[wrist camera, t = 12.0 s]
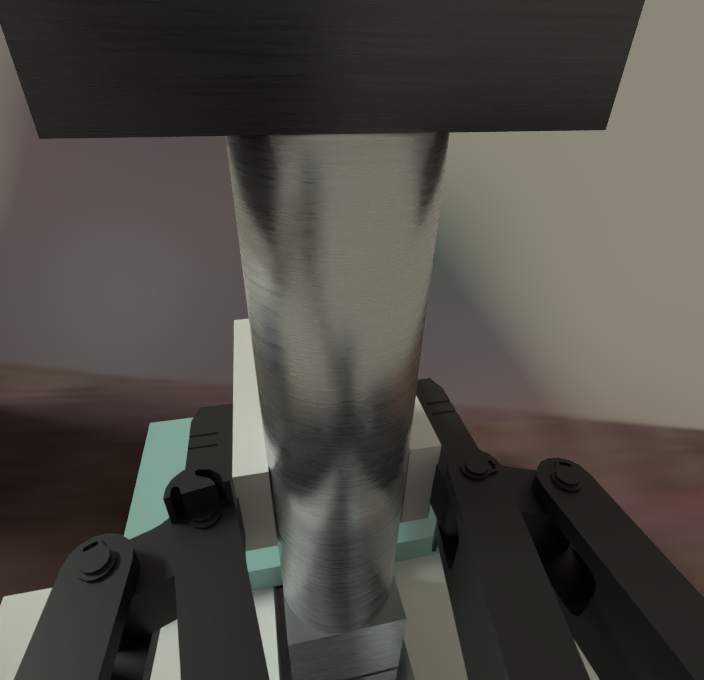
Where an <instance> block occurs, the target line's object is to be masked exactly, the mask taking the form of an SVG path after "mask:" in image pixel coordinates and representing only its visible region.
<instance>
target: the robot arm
mask: <svg viewBox="0 0 704 680" xmlns="http://www.w3.org/2000/svg"><path fill="white" fill-rule="evenodd" d="M163 500H164V503H165V506H166V509H167V512H168V515H169V518H168V519H167V520H166V521H164V522H163V523H162V524H160V525H159V526H157V527H155V528H153V529H151V530H149V531H147V532H145V533H143V534H140V535H138V536H136V537H134V538H132V539H128V538H126V537H124V536H123V535H121V534H114V533H106V534H102V535H98V536H94V537H92V538H91V539H89V540H87V541H85V542H83V543H82V544H80V545H79V546H78V547H77V548H76V549H75V550H74V551H72V552H71V553H70V554H69V555H68V557H67V558H66V560H65V562H64V563H63V565H62V566H61V568H60V571H59V573H58V575H57V578H56V580H55V583H54V585H53V587H52V590H51V592H50V594H49V597H48V599H47V602H46V604H45V606H44V609H43V611H42V613H41V616H40V618H39V621H38V623H37V625H36V628H35V630H34V632H33V635H32V637H31V640H30V642H29V644H28V647H27V649H26V651H25V654H24V656H23V659H22V661H21V663H20V666H19V668H18V671H17V673H16V675H15V678H14V680H150V678H151V673H152V668H153V663H154V659H155V654H156V649H157V644H158V639H159V634H160V629H161V628H162V627H164V626H166V625H167V624H169V623H171V622H173V621H175V620H177V624H178V641H179V657H180V674H181V680H270V679H269V674H268V669H267V664H266V659H265V654H264V649H263V644H262V639H261V634H260V629H259V623H258V618H257V613H256V608H255V603H254V598H253V593H252V588H251V583H250V578H249V573H248V568H247V563H246V550H247V551H250V550H256V549H261V548H267V547H272V546H277V545H278V541H277V532H276V524H275V516H274V508H273V500H272V492H271V485H270V477H269V469H268V463H267V457H266V449H265V441H264V433H263V426H262V418H261V410H260V402H259V394H258V386H257V378H256V371H255V363H254V355H253V347H252V339H251V331H250V323H249V319H242V320H234V378H233V404H226V405H218V406H210V407H202V408H200V409H199V410H198V412H197V413H196V415H195V416H194V418H193V419H192V421H191V426H190V434H189V442H188V451H187V458H186V466H185V470H183V471H181V472H180V473H179V474H177V475H176V476H175V477H174V478H172V479H171V481H170V482H169V484H168V485H167V487H166V488H165V492H164V497H163ZM430 505H431V506H432V509H433V511H434V514H435V516H436V518H437V520H436V525H435V530H434V535H433V540H432V552H433V551H436V550H437V545H438V548H439V553H440V557H441V562H442V566H443V570H444V575H445V579H446V584H447V588H448V593H449V597H450V602H451V606H452V611H453V615H454V620H455V624H456V629H457V633H458V638H459V642H460V647H461V651H462V656H463V660H464V664H465V669H466V673H467V678H468V680H590V677H589V675H588V673H587V670H586V668H585V665H584V663H583V661H582V658H581V656H580V653H579V651H578V649H577V646H576V644H575V642H576V643H577V645H578V647H579V648H580V650H581V651H582V653H583V654H584V656H585V658H586V659H587V661H588V662H589V664H590V665H591V667H592V669H593V670H594V672H595V673H596V675H597V676H598V678H599V680H704V598H703V597H702V596H701V595H700V593H699V592H698V591H697V590H696V589H695V588H694V587H693V586H692V585H691V584H690V583H689V581H688V580H687V579H686V578H685V577H684V576H683V575H682V574H681V573H680V572H679V571H678V569H677V568H676V567H675V566H674V565H673V564H672V563H671V562H670V561H669V560H668V559H667V558H666V556H665V555H664V554H663V553H662V552H661V551H660V550H659V549H658V548H657V547H656V546H655V544H654V543H653V542H652V541H651V540H650V539H649V538H648V537H647V536H646V535H645V534H644V532H643V531H642V530H641V529H640V528H639V527H638V526H637V525H636V524H635V523H634V522H633V520H632V519H631V518H630V517H629V516H628V515H627V514H626V513H625V512H624V511H623V510H622V509H621V507H620V506H619V505H618V504H617V503H616V502H615V501H614V500H613V499H612V498H611V497H610V495H609V494H608V493H607V492H606V491H605V490H604V489H603V488H602V487H601V486H600V485H599V483H598V482H597V481H596V480H595V479H594V478H593V477H592V476H591V475H590V474H589V473H588V472H587V471H586V470H585V469H583V468H582V467H581V466H580V465H578V464H576V463H574V462H572V461H570V460H566V459H561V458H548V459H546V460H544V461H542V462H541V463H540V464H539V466H538V468H537V470H536V471H535V470H527V469H518V468H511V467H506V466H503V465H500V464H499V462H498V461H497V460H496V459H495V458H494V457H492V456H491V455H490V454H488V453H486V452H483V451H481V450H479V448H478V447H477V445H476V444H475V442H474V440H473V439H472V437H471V435H470V434H469V432H468V430H467V429H466V427H465V425H464V423H463V422H462V420H461V418H460V417H459V415H458V413H457V412H456V411H455V408H454V407H453V405H452V403H450V400H449V398H448V396H447V395H446V393H445V392H444V390H443V388H442V387H440V386H439V385H438V384H437V383H435V382H434V381H433V380H431V379H430V378H429V379H421V380H418V383H417V391H416V399H415V407H414V415H413V423H412V430H411V438H410V446H409V454H408V462H407V470H406V477H405V485H404V493H403V501H402V509H401V517H400V522H401V523H402V522H408V521H413V520H419V519H424V518H428V516H429V511H430ZM574 640H575V641H574Z"/></svg>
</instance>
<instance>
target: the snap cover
mask: <svg viewBox="0 0 704 680" xmlns="http://www.w3.org/2000/svg"><path fill="white" fill-rule="evenodd" d="M193 418H194V417H193ZM193 418H185V419H177V420H170V421H162V422H154V423H150V425H149V429H148V434H147V438H146V442H145V447H144V451H143V455H142V460H141V464H140V468H139V473H138V477H137V481H136V486H135V490H134V494H133V498H132V503H131V507H130V511H129V516H128V520H127V524H126V529H125V533H124V537H126V538H128V539H132V538H134V537H136V536H138V535H140V534H143V533H145V532H147V531H149V530H151V529H153V528H155V527H157V526H159V525H160V524H162V523H163V522H164V521H166V520H167V519H168V518H169V515H168V512H167V509H166V506H165V503H164V500H163V497H164V492H165V488H166V487H167V485H168V484H169V482H170V481H171V479H172V478H174V477H175V476H176V475H177V474H179V473H180V472H181V471H183V470H185V466H186V458H187V451H188V442H189V434H190V426H191V421H192V419H193ZM436 520H437V518H436V516H435V514H434V511H433V509H432V506H431V505H430V511H429V516H428V518H424V519H419V520H413V521H408V522H402V523H401V522H400V524H399V532H398V540H397V548H396V556H395V562H399V561H404V560H409V559H414V558H419V557H424V556H429V555H434V554H439V548H438V545H437V550H436V551H433V552H432V540H433V535H434V530H435V525H436ZM246 563H247V568H248V573H249V578H250V583H251V588H252V591H254V590H259V589H264V588H269V587H274V586H279V585H283V583H282V575H281V567H280V559H279V551H278V545H277V546H272V547H267V548H261V549H256V550H250V551H247V550H246Z"/></svg>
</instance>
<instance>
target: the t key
mask: <svg viewBox="0 0 704 680" xmlns="http://www.w3.org/2000/svg"><path fill="white" fill-rule="evenodd" d="M644 2H645V0H0V24H1V27H2V30H3V33H4V36H5V39H6V42H7V45H8V48H9V51H10V54H11V57H12V59H13V62H14V65H15V68H16V71H17V74H18V77H19V80H20V83H21V86H22V89H23V92H24V94H25V98H26V101H27V104H28V106H29V109H30V112H31V115H32V118H33V121H34V124H35V127H36V130H37V133H38V136H39V139H51V138H112V137H113V138H116V137H175V136H176V137H179V136H180V137H181V136H226V143H227V150H228V158H229V165H230V174H231V182H232V189H233V198H234V205H235V213H236V221H237V229H238V237H239V245H240V252H241V261H242V268H243V276H244V284H245V292H246V300H247V308H248V316H249V323H250V331H251V339H252V347H253V355H254V363H255V371H256V378H257V386H258V394H259V402H260V410H261V418H262V426H263V433H264V441H265V449H266V457H267V463H268V469H269V477H270V485H271V492H272V500H273V508H274V516H275V524H276V532H277V541H278V551H279V559H280V567H281V575H282V583H283V594H284V606H285V618H286V630H287V642H288V651H289V658H290V666H291V673H292V680H396V676H397V670H398V668H397V666H398V665H399V659H400V653H401V648H402V642H403V636H404V631H405V625H406V619H407V618H406V615H405V612H404V608H403V605H402V601H401V598H400V595H399V591H398V588H397V584H396V581H395V577H394V574H393V571H394V564H395V556H396V548H397V540H398V532H399V524H400V517H401V509H402V501H403V493H404V485H405V477H406V470H407V462H408V454H409V446H410V438H411V430H412V423H413V415H414V407H415V399H416V391H417V383H418V375H419V368H420V360H421V352H422V343H423V336H424V328H425V321H426V313H427V304H428V297H429V289H430V281H431V273H432V265H433V258H434V250H435V242H436V234H437V226H438V219H439V211H440V203H441V195H442V187H443V179H444V172H445V164H446V156H447V148H448V140H449V133H450V132H500V131H501V132H506V131H570V130H606V126H607V123H608V120H609V117H610V113H611V110H612V107H613V104H614V100H615V97H616V94H617V90H618V87H619V83H620V80H621V77H622V74H623V71H624V67H625V64H626V61H627V57H628V54H629V51H630V48H631V44H632V41H633V38H634V34H635V31H636V28H637V25H638V21H639V18H640V15H641V11H642V8H643V5H644Z"/></svg>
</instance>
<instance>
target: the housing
mask: <svg viewBox="0 0 704 680" xmlns="http://www.w3.org/2000/svg"><path fill="white" fill-rule="evenodd" d="M393 574H394V577H395V581H396V584H397V588H398V591H399V595H400V598H401V601H402V605H403V608H404V612H405V615H406V618H407V619H406V625H405V631H404V636H403V642H402V648H401V653H400V659H399V665H398V666H397V668H398V670H397V676H396V680H468V678H467V673H466V669H465V664H464V660H463V656H462V651H461V647H460V642H459V638H458V633H457V629H456V624H455V620H454V615H453V611H452V606H451V602H450V597H449V593H448V588H447V584H446V579H445V575H444V570H443V566H442V562H441V557H440V553H439V554H434V555H429V556H424V557H419V558H414V559H409V560H404V561H399V562H395V564H394V571H393ZM51 590H52V588H48V589H43V590H37V591H32V592H26V593H21V594H16V595H10V596H5V597H4V598H3V600H2V602H1V605H0V680H14V678H15V675H16V673H17V671H18V668H19V666H20V663H21V661H22V659H23V656H24V654H25V651H26V649H27V647H28V644H29V642H30V640H31V637H32V635H33V632H34V630H35V628H36V625H37V623H38V621H39V618H40V616H41V613H42V611H43V609H44V606H45V604H46V602H47V599H48V597H49V594H50V592H51ZM252 593H253V598H254V603H255V608H256V613H257V618H258V623H259V629H260V634H261V639H262V644H263V649H264V654H265V659H266V664H267V669H268V674H269V679H270V680H292V673H291V666H290V658H289V651H288V642H287V630H286V618H285V606H284V594H283V588H280V589H277V588H276V586H274V587H269V588H264V589H259V590H254V591H252ZM574 641H575V640H574ZM575 644H576V646H577V649H578V651H579V653H580V656H581V658H582V661H583V663H584V665H585V668H586V670H587V673H588V675H589V677H590V680H599V678H598V676H597V675H596V673H595V672H594V670H593V669H592V667H591V665H590V664H589V662H588V661H587V659H586V658H585V656H584V654H583V653H582V651H581V650H580V648H579V647H578V645H577V643H576V642H575ZM150 680H181V674H180V657H179V641H178V624H177V620H175V621H173V622H171V623H169V624H167V625H166V626H164V627H162V628H161V629H160V634H159V639H158V644H157V649H156V654H155V659H154V663H153V668H152V673H151V678H150Z"/></svg>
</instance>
